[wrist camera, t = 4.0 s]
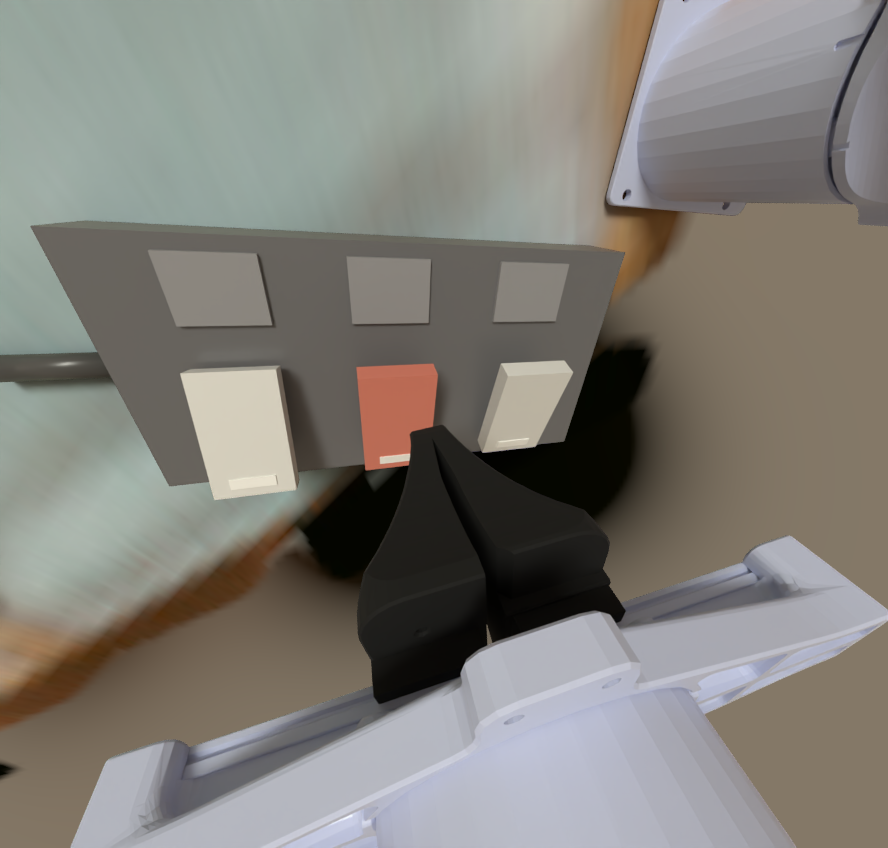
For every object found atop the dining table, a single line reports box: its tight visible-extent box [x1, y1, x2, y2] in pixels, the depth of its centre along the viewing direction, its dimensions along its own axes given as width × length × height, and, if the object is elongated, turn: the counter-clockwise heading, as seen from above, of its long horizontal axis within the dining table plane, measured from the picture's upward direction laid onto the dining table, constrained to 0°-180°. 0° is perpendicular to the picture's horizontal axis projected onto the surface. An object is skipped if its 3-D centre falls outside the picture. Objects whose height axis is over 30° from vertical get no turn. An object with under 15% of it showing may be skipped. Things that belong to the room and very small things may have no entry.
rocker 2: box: [478, 360, 573, 453], centre depth 19 cm, size 4×6×2 cm, turn 176°
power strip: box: [0, 221, 625, 486], centre depth 18 cm, size 30×12×3 cm, turn 86°
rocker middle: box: [356, 364, 438, 470], centre depth 17 cm, size 4×6×2 cm, turn 176°
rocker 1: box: [180, 366, 299, 500], centre depth 16 cm, size 4×6×2 cm, turn 176°
